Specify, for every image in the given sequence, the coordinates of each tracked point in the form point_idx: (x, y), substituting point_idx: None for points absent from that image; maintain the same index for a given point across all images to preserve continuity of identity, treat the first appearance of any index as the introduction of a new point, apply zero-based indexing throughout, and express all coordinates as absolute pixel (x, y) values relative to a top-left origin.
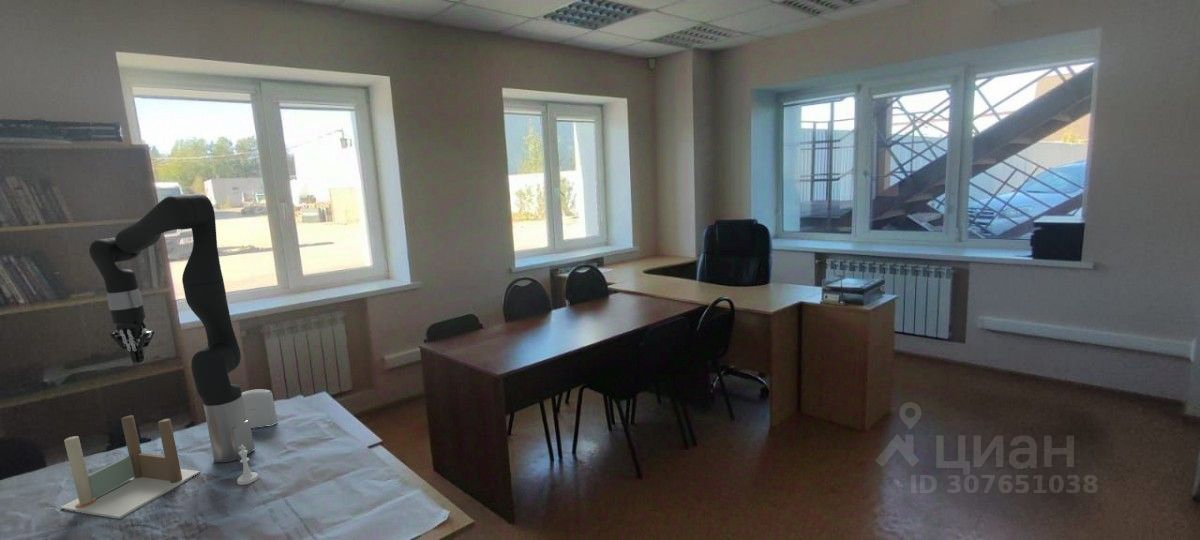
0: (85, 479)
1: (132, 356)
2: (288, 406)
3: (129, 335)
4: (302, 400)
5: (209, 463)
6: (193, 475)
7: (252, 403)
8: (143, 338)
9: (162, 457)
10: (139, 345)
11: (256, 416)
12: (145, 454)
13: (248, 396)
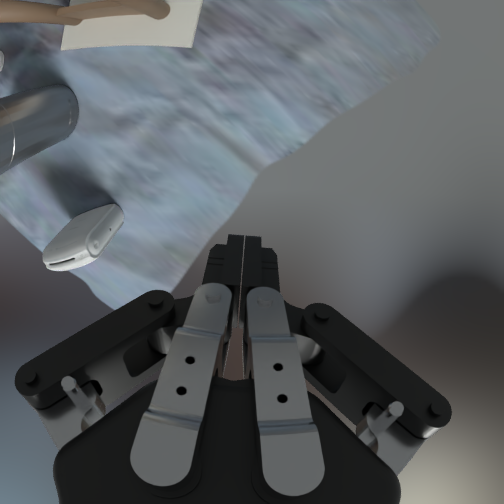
0: None
1: (250, 259)
2: (119, 289)
3: (185, 411)
4: (117, 307)
5: (71, 79)
6: (63, 38)
7: (67, 235)
8: (61, 354)
9: (66, 7)
10: (140, 313)
11: (78, 220)
12: (111, 3)
13: (64, 245)
